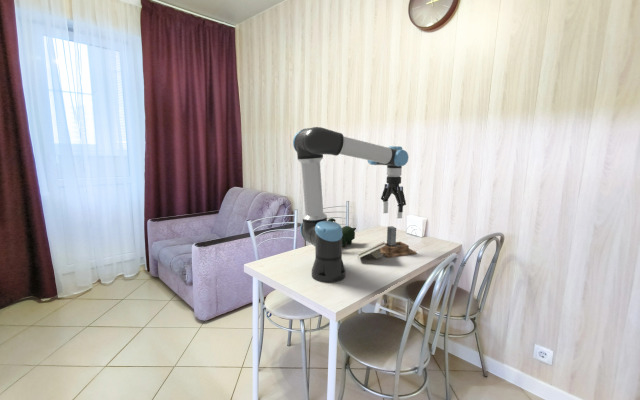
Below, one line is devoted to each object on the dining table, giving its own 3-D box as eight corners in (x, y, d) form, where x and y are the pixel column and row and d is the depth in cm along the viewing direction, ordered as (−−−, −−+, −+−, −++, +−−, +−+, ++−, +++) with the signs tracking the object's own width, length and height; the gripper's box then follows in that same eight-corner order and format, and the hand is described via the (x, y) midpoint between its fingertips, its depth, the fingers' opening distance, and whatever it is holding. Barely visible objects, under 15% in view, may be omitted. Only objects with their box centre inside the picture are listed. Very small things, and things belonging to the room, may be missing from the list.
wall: (368, 272, 146) (392, 253, 144) (357, 258, 147) (380, 239, 145) (368, 265, 162) (390, 248, 160) (358, 252, 163) (379, 235, 161)
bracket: (390, 251, 161) (391, 228, 159) (386, 249, 165) (387, 226, 163) (403, 250, 164) (404, 227, 162) (399, 248, 167) (400, 225, 165)
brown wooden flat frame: (387, 257, 155) (387, 250, 154) (374, 249, 168) (374, 242, 167) (416, 253, 161) (416, 246, 160) (401, 246, 174) (401, 239, 173)
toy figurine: (331, 255, 163) (362, 242, 179) (329, 222, 159) (361, 212, 175) (320, 251, 170) (350, 239, 186) (318, 219, 166) (349, 209, 182)
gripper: (414, 177, 147) (412, 220, 150) (387, 174, 170) (385, 210, 173) (401, 178, 144) (399, 220, 147) (375, 174, 167) (374, 211, 171)
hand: (392, 215), depth 160 cm, fingers open, 13 cm apart
